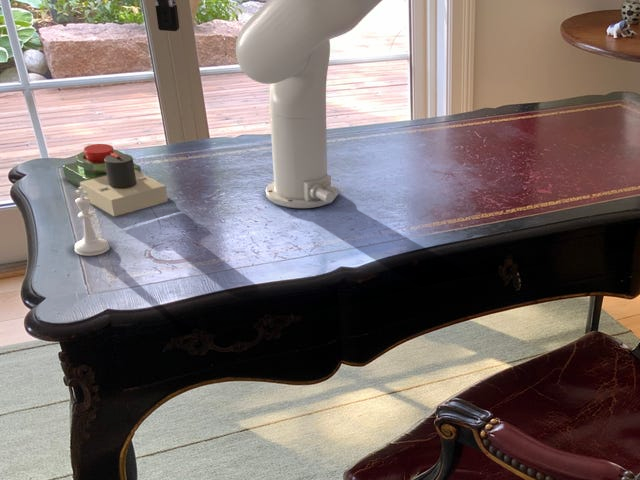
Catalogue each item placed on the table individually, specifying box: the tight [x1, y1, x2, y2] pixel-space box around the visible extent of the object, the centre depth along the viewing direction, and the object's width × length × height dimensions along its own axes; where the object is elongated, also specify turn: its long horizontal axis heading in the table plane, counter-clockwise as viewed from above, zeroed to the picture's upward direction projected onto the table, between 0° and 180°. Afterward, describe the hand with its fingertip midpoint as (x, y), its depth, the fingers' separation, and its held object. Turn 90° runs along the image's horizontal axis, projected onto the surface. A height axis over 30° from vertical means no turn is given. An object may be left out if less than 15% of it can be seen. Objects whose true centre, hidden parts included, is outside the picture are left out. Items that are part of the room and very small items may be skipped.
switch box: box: [62, 149, 142, 188], centre depth 147 cm, size 10×8×4 cm
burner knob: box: [104, 153, 136, 188], centre depth 138 cm, size 4×4×5 cm
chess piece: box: [74, 187, 111, 257], centre depth 123 cm, size 5×5×10 cm
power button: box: [83, 143, 115, 162], centre depth 145 cm, size 5×5×2 cm
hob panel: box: [80, 170, 169, 217], centre depth 141 cm, size 10×10×3 cm
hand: (169, 29), depth 142 cm, fingers closed
